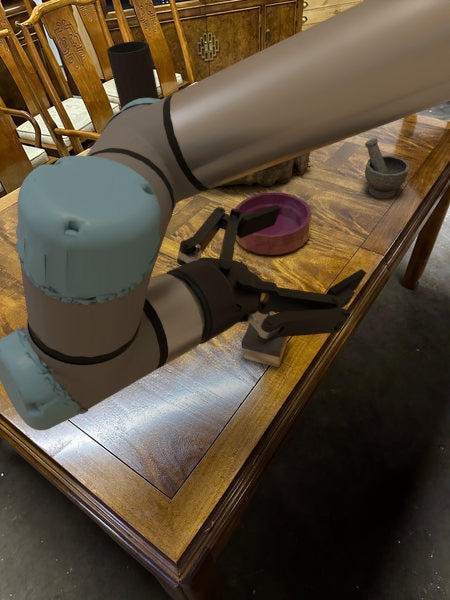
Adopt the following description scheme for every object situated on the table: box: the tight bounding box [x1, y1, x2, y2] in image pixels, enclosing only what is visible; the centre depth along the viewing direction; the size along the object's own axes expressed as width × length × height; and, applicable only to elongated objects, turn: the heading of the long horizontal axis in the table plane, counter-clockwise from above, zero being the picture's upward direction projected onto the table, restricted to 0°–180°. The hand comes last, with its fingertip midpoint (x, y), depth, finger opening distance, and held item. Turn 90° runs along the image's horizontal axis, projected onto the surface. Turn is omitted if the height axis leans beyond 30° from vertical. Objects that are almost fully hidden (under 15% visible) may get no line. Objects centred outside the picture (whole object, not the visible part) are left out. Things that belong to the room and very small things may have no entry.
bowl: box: [234, 191, 313, 256], centre depth 92 cm, size 17×17×6 cm
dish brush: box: [240, 278, 288, 368], centre depth 65 cm, size 6×5×16 cm
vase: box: [106, 40, 160, 110], centre depth 112 cm, size 10×10×30 cm
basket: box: [218, 152, 312, 187], centre depth 108 cm, size 28×35×16 cm
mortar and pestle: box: [364, 138, 411, 199], centre depth 98 cm, size 11×9×12 cm
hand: (315, 245), depth 51 cm, fingers open, 13 cm apart
